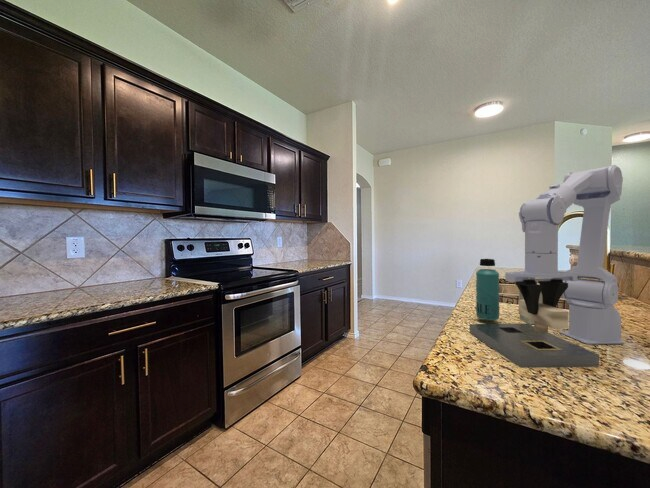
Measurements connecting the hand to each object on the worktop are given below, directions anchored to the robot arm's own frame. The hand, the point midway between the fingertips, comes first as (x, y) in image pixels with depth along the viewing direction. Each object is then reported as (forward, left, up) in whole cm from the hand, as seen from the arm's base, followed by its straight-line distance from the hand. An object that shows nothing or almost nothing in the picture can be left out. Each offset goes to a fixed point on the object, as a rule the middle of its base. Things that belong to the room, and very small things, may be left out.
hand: (540, 313), depth 60 cm
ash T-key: (0, 0, -4) cm, 4 cm away
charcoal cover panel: (0, -5, -10) cm, 11 cm away
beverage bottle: (-3, -25, -10) cm, 27 cm away
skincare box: (-16, -24, -10) cm, 31 cm away
